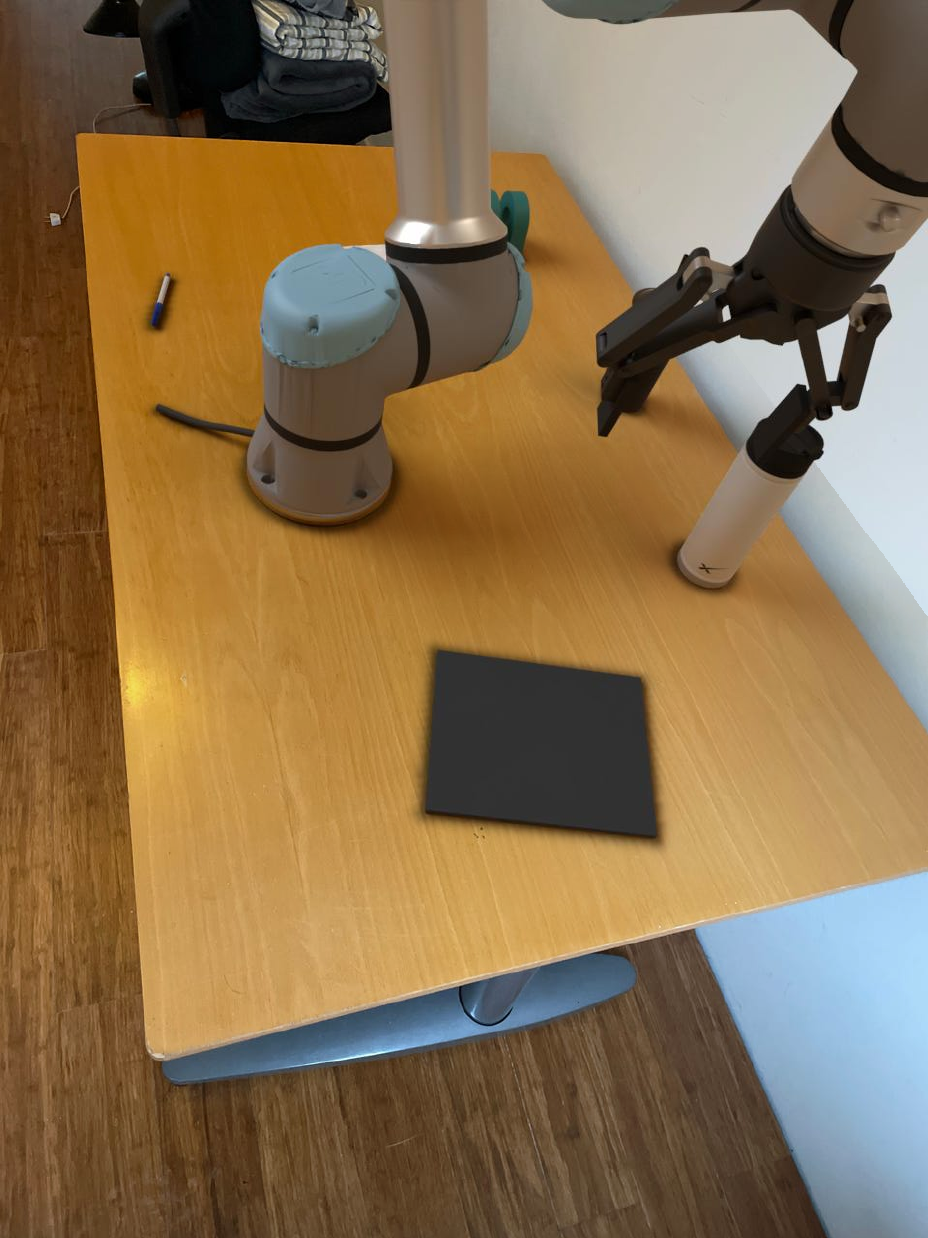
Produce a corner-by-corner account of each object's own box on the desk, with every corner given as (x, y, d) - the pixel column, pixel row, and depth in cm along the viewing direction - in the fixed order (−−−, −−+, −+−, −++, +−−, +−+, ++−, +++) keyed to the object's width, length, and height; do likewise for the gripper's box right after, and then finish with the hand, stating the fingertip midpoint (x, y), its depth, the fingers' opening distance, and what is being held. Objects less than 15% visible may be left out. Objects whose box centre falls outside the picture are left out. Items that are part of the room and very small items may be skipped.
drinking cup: (651, 426, 103) (719, 283, 87) (593, 409, 103) (651, 263, 87) (654, 390, 108) (720, 248, 92) (599, 374, 107) (655, 228, 91)
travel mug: (700, 598, 87) (794, 461, 71) (665, 553, 90) (748, 412, 74) (743, 583, 90) (843, 448, 74) (707, 540, 93) (796, 401, 77)
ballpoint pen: (158, 327, 96) (157, 320, 96) (150, 327, 96) (149, 319, 96) (171, 277, 103) (170, 269, 102) (163, 276, 102) (162, 268, 102)
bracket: (520, 259, 120) (533, 206, 114) (477, 258, 118) (488, 205, 112) (484, 194, 130) (494, 142, 124) (444, 192, 128) (452, 140, 121)
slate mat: (425, 812, 67) (426, 810, 67) (436, 652, 77) (437, 649, 76) (655, 838, 70) (657, 836, 69) (638, 680, 79) (641, 677, 79)
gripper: (645, 217, 43) (533, 450, 62) (1046, 303, 48) (827, 497, 67) (637, 124, 46) (533, 373, 65) (1014, 213, 51) (814, 423, 70)
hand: (681, 436), depth 66 cm, fingers open, 13 cm apart
